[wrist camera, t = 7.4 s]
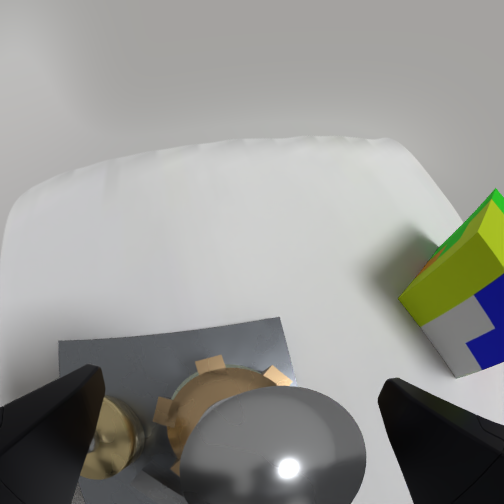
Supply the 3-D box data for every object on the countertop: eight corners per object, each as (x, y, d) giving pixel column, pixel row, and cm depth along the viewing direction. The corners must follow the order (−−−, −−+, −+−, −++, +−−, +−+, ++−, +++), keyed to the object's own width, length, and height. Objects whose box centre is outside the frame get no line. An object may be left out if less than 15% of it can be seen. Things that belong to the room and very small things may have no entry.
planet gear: (309, 457, 13) (465, 498, 3) (191, 494, 11) (167, 625, 1) (266, 347, 16) (363, 234, 6) (148, 378, 14) (33, 311, 4)
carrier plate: (334, 476, 13) (376, 492, 9) (93, 506, 9) (59, 530, 5) (293, 317, 19) (320, 286, 14) (65, 344, 15) (24, 319, 11)
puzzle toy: (455, 378, 17) (544, 342, 9) (397, 298, 21) (477, 231, 13) (487, 313, 22) (550, 269, 13) (438, 247, 25) (495, 187, 17)
